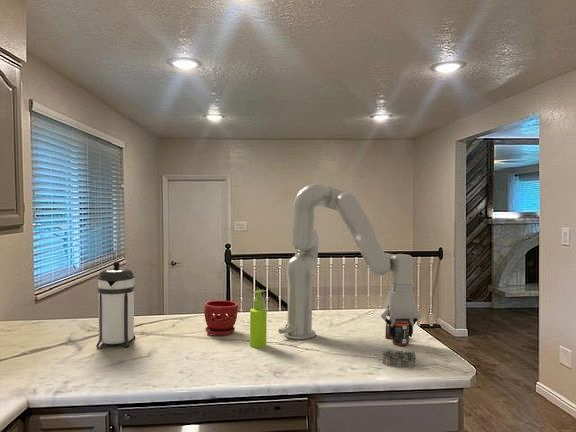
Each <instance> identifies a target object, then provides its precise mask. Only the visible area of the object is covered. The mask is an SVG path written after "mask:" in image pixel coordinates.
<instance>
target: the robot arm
mask: <svg viewBox="0 0 576 432" xmlns="http://www.w3.org/2000/svg"><path fill="white" fill-rule="evenodd" d="M318 206H319V207H324V208H328V209H331V210H334V211H337V212H338V214H339V216H340V217H341V219H342V221H343V222H344V224H345V225H346V228H347V229H348V231H349V232H350V235H351V237H352V239H353V241H354V243H355V244H356V246H357V249H358V250H359V252H360V254H361V256H362V258H363V260H364V261H365V264H366V265H367V266H368V268H369V270H370V271H371V272H372V273H373V274H374V275H376V276H385V275H387V273H389V272H390V273H391V276H390V277H391V280H390V281H391V283H390V289H391V290H388V294H387V298H386V305H385V306H386V307H385V310H384V312H382V313H381V315H380V318H381V319H382V320H383V321H385V324H386V323H387V324H388V325H389V334H390V336H391V337H395V327H394V323H395V320H396V319H407V320H408V321H409V338H412V337H413V334H414V326H415V324H416V323H417V322H418V321H419V320H420V319H421V317H422V314H421V313H420V312H419V311H418V310H417V307H416V298H415V292H414V290H413V289H416V284H414V283H413V270H414V269H413V264H414V263H413V262H414V261H413V257H412V256H411V255H410V254H404V253H396V254H393V253H387V252H384V250H383V248H382V247H381V244H380V243H379V241H378V238H377V236H376V234H375V229H374V225H373V224H372V222H371V221H370V219H369V217H368V216H367V214H366V212H365V211H364V209H363V207H362V205H361V203H360V199H359V197H358V196H357V195H356V194H355V193H353V192H349V191H344V190H342V189H339V188H335V187H333V186H329V185H326V184H322V183H312V184H309V185H306V186H305V187H303V188H302V189H300V190H299V191H298V192H297V194H296V196H295V198H294V201H293V206H292V220H291V232H290V233H291V234H290V244H291V247H292V248H293V249H294V256H292V257H291V258H290V259H289V260H288V262H287V265H286V279H287V323H286V324H285V327H282V328H278V334H280V335H282V334H283V336H284V337H285V338H288V339H293V340H310V339H312V338H315V337H316V331H315V330H314V329H313V328H312V327H313V325H312V322H313V321H312V317H313V314H312V313H313V281H312V280H313V279H312V274H313V273H314V272H315V271H316V269H317V266H318V257H319V256H318V255H319V235H318V232H317V231H316V229H315V228H314V226H315V209H316V207H318ZM388 317H389V318H388Z"/></svg>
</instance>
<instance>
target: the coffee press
mask: <svg viewBox="0 0 576 432" xmlns="http://www.w3.org/2000/svg"><path fill="white" fill-rule="evenodd" d="M96 278H97V281H98V287H97V293H98V342H97V343H96V345H95V346H96V348H97V349H100V350H101V349H102V348H103V346H104V345H106V344H108V345H115V344H116V345H117V344H122V345H123V347H124V348H125V349H126V348H130V345H131V344H130V342H129V341H131V340H132V341H135V339H136V335H135V285H136V284H135V278H136V275H135V274H134V272H133V270H131V268H127V267H126V268H125V267H120V262H119V261H114V262H113V264H112V267H110V268H105V269H103V270H101V271H100V272H99V273H98V276H97V277H96Z"/></svg>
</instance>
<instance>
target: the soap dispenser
mask: <svg viewBox="0 0 576 432" xmlns="http://www.w3.org/2000/svg"><path fill="white" fill-rule="evenodd" d="M264 292H266V290H264V289H257V290H255V291H254V294H255V295H256V296H255V299H254V300H253V308H250V311H249V312H250V314H249V315H250V316H249V319H250V320H249V324H250V325H249V326H250V328H249V329H250V330H249V331H250V332H249V346H250V348H254V349H264V348H265V347H267V322H268V321H267V318H268V317H267V315H268V314H267V312H268V311H267V308H264V299H262V293H264Z"/></svg>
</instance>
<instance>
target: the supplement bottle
mask: <svg viewBox="0 0 576 432" xmlns="http://www.w3.org/2000/svg"><path fill="white" fill-rule="evenodd" d="M394 327H395V337H393V339H391V340H392V344H393V345H395V346H399V347H405V346H408V345H409V343H410V336H409V321H408V320H407V319H396V320H395V323H394Z"/></svg>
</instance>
